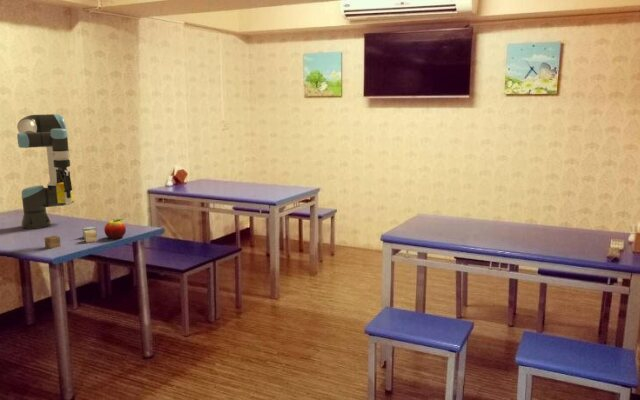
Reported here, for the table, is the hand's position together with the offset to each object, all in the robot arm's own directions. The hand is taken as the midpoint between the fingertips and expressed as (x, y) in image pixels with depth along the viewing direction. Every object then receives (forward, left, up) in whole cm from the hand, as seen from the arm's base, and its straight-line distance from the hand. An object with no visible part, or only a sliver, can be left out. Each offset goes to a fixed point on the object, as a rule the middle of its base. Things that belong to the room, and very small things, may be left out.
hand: (65, 202), depth 270 cm
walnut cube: (+6, -10, -20) cm, 23 cm away
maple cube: (+8, +8, -20) cm, 23 cm away
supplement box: (0, 0, -1) cm, 1 cm away
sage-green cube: (-1, +11, -20) cm, 23 cm away
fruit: (+11, +20, -20) cm, 31 cm away
